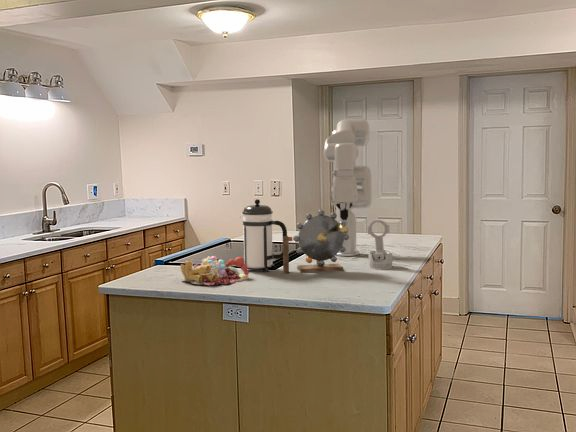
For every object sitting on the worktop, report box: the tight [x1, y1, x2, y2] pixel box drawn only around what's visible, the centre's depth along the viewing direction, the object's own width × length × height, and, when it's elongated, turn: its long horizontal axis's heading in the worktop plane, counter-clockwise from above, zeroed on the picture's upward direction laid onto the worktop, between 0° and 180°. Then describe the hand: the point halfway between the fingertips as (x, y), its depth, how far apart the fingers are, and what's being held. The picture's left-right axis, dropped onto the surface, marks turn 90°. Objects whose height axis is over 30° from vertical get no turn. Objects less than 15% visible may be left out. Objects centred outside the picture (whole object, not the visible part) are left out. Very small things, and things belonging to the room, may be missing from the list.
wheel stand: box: [282, 235, 344, 274], centre depth 250 cm, size 25×8×15 cm, turn 101°
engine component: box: [366, 218, 393, 270], centre depth 255 cm, size 11×20×10 cm
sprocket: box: [292, 209, 349, 266], centre depth 243 cm, size 23×11×23 cm, turn 101°
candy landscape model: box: [179, 255, 250, 286], centre depth 236 cm, size 25×24×9 cm
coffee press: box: [239, 198, 288, 273], centre depth 252 cm, size 17×16×30 cm
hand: (344, 219), depth 242 cm, fingers closed
